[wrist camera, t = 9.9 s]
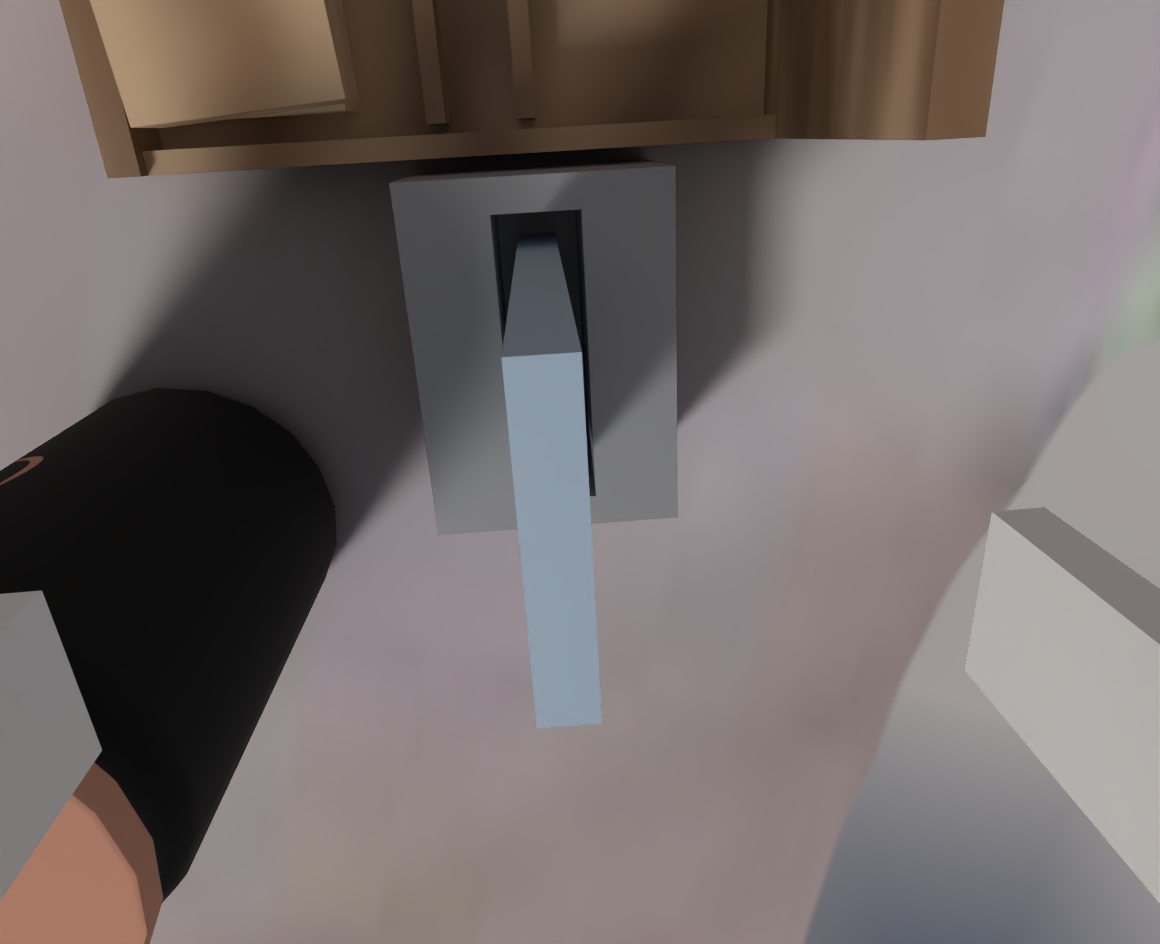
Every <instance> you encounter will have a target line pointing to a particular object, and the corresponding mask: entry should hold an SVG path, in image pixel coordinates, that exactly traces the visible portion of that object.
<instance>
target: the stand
mask: <svg viewBox="0 0 1160 944" xmlns="http://www.w3.org/2000/svg"><path fill="white" fill-rule="evenodd" d="M389 187H390V194H391V201H392V208H393V215H394V222H395V230H396V237H397V244H398V251H399V258H400V265H401V272H402V279H403V286H404V293H405V301H406V308H407V315H408V322H409V329H410V336H411V343H412V350H413V357H414V365H415V372H416V379H417V386H418V393H419V400H420V407H421V414H422V421H423V429H424V436H425V443H426V450H427V457H428V464H429V471H430V478H431V485H432V492H433V500H434V507H435V514H436V521H437V528H438V535H442V534H456V533H469V532H483V531H497V530H510V529H518V526H517V515H516V505H515V495H514V484H513V474H512V463H511V453H510V442H509V432H508V421H507V411H506V400H505V390H504V379H503V369H502V358H501V357H502V350H503V342H504V335H505V328H506V321H507V314H508V307H509V300H510V293H511V285H512V278H513V271H514V264H515V257H516V250H517V243H518V236H519V234H524V233H540V232H555V236H556V240H557V245H558V249H559V254H560V258H561V262H562V267H563V271H564V276H565V280H566V284H567V289H568V293H569V298H570V302H571V306H572V311H573V315H574V320H575V324H576V328H577V333H578V337H579V342H580V346H581V350H582V364H583V382H584V401H585V420H586V438H587V457H588V475H589V494H590V512H591V524H592V523H606V522H619V521H633V520H647V519H660V518H674V517H678V498H677V312H676V166H673V165H668V164H664V163H659V162H655V161H650V160H637V161H621V162H604V163H587V164H570V165H554V166H537V167H520V168H503V169H487V170H470V171H453V172H436V173H420V174H415V175H412V176H409V177H406V178H403V179H400V180H397V181H394V182H391V183H389Z"/></svg>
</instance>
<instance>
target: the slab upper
mask: <svg viewBox="0 0 1160 944" xmlns="http://www.w3.org/2000/svg"><path fill="white" fill-rule="evenodd" d="M90 3H91V6H92V9H93V12H94V15H95V18H96V21H97V24H98V28H99V31H100V34H101V37H102V40H103V43H104V46H105V49H106V52H107V55H108V59H109V62H110V65H111V68H112V71H113V74H114V77H115V80H116V83H117V87H118V90H119V93H120V96H121V99H122V102H123V105H124V108H125V111H126V114H127V118H128V121H129V124H130V127H131V128H167V127H174V126H182V125H189V124H197V123H204V122H211V121H219V120H226V119H234V118H241V117H248V116H256V115H263V114H271V113H278V112H285V111H293V110H300V109H308V108H315V107H322V106H330V105H337V104H345V103H352V102H359V101H360V100H359V95H358V90H357V86H356V81H355V76H354V72H353V67H352V62H351V58H350V53H349V48H348V44H347V39H346V34H345V29H344V25H343V20H342V15H341V11H340V6H339V1H338V0H90Z"/></svg>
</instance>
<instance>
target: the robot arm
mask: <svg viewBox="0 0 1160 944" xmlns="http://www.w3.org/2000/svg"><path fill="white" fill-rule="evenodd" d="M965 671H966V672H967V674H968V675H969V676H970V677H971V678H972V679H973V681H974V682H975V683H976V684H977V685H978V687H979V688H980V689H981V690H982V691H983V693H984V694H985V695H986V696H987V698H988V699H989V700H990V701H991V702H992V703H993V705H994V706H995V707H996V708H997V709H998V711H999V712H1000V713H1001V714H1002V715H1003V717H1004V718H1005V719H1006V720H1007V721H1008V723H1009V724H1010V725H1011V726H1012V727H1013V729H1014V730H1015V731H1016V732H1017V733H1018V735H1019V736H1020V737H1021V738H1022V739H1023V740H1024V742H1025V743H1026V744H1027V745H1028V746H1029V748H1030V749H1031V750H1032V751H1033V752H1034V754H1035V755H1036V756H1037V757H1038V758H1039V760H1040V761H1041V762H1042V763H1043V764H1044V766H1045V767H1046V768H1047V769H1048V770H1049V772H1050V773H1051V774H1052V775H1053V776H1054V778H1055V779H1056V780H1057V781H1058V782H1059V783H1060V785H1061V786H1062V787H1063V788H1064V789H1065V791H1066V792H1067V793H1068V794H1069V795H1070V797H1071V798H1072V799H1073V800H1074V801H1075V803H1076V804H1077V805H1078V806H1079V807H1080V809H1081V810H1082V811H1083V812H1084V813H1085V815H1086V816H1087V817H1088V818H1089V819H1090V820H1091V822H1092V823H1093V824H1094V825H1095V826H1096V828H1097V829H1098V830H1099V831H1100V832H1101V834H1102V835H1103V836H1104V837H1105V838H1106V840H1107V841H1108V842H1109V843H1110V844H1111V846H1112V847H1113V848H1114V849H1115V850H1116V851H1117V853H1118V854H1119V855H1120V856H1121V857H1122V859H1123V860H1124V861H1125V862H1126V864H1127V865H1128V866H1129V867H1130V868H1131V869H1132V871H1133V872H1134V873H1135V874H1136V875H1137V877H1138V878H1139V879H1140V880H1141V881H1142V883H1143V884H1144V885H1145V886H1146V887H1147V889H1148V890H1149V891H1150V892H1151V893H1152V895H1153V896H1154V897H1155V898H1156V899H1157V901H1158V902H1159V903H1160V589H1159V588H1158V587H1156V586H1155V585H1153V584H1152V583H1151V582H1149V581H1148V580H1146V579H1145V578H1144V577H1142V576H1141V575H1139V574H1138V573H1136V572H1135V571H1134V570H1132V569H1131V568H1129V567H1128V566H1127V565H1125V564H1124V563H1122V562H1121V561H1119V560H1118V559H1117V558H1115V557H1114V556H1112V555H1111V554H1110V553H1108V552H1107V551H1105V550H1104V549H1102V548H1101V547H1100V546H1098V545H1097V544H1095V543H1094V542H1092V541H1091V540H1090V539H1088V538H1086V537H1085V536H1084V535H1082V534H1081V533H1080V532H1078V531H1077V530H1075V529H1074V528H1073V527H1071V526H1070V525H1068V524H1067V523H1066V522H1064V521H1063V520H1061V519H1060V518H1059V517H1057V516H1056V515H1054V514H1053V513H1051V512H1050V511H1049V510H1047V509H1046V508H1044V507H1043V508H1031V509H1020V510H1007V511H995V512H992V514H991V520H990V526H989V532H988V538H987V544H986V550H985V556H984V562H983V567H982V573H981V579H980V585H979V591H978V597H977V603H976V609H975V614H974V620H973V626H972V632H971V638H970V644H969V649H968V655H967V661H966V667H965ZM101 751H102V748H101V746H100V743H99V740H98V738H97V735H96V732H95V730H94V727H93V724H92V722H91V719H90V716H89V714H88V711H87V709H86V706H85V703H84V701H83V698H82V695H81V693H80V690H79V687H78V685H77V682H76V679H75V677H74V674H73V671H72V669H71V666H70V664H69V661H68V658H67V656H66V653H65V650H64V648H63V645H62V642H61V640H60V637H59V634H58V632H57V629H56V626H55V624H54V621H53V618H52V616H51V613H50V611H49V608H48V605H47V603H46V600H45V597H44V595H43V592H42V591H30V592H18V593H6V594H0V901H1V899H2V898H3V896H4V895H5V894H6V892H7V891H8V889H9V888H10V886H11V885H12V883H13V882H14V880H15V879H16V877H17V876H18V874H19V873H20V871H21V870H22V868H23V867H24V865H25V864H26V862H27V861H28V859H29V858H30V856H31V855H32V854H33V852H34V851H35V849H36V848H37V846H38V845H39V843H40V842H41V840H42V839H43V837H44V836H45V834H46V833H47V831H48V830H49V828H50V827H51V825H52V824H53V822H54V821H55V819H56V818H57V816H58V815H59V813H60V812H61V811H62V809H63V808H64V806H65V805H66V803H67V802H68V800H69V799H70V797H71V796H72V794H73V793H74V791H75V790H76V788H77V787H78V785H79V784H80V782H81V781H82V779H83V778H84V776H85V775H86V773H87V772H88V770H89V769H90V768H91V766H92V765H93V763H94V762H95V760H96V759H97V757H98V756H99V754H100V753H101Z"/></svg>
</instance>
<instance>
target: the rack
mask: <svg viewBox="0 0 1160 944" xmlns="http://www.w3.org/2000/svg"><path fill="white" fill-rule="evenodd" d="M59 1H60V5H61V8H62V12H63V16H64V19H65V23H66V27H67V30H68V34H69V38H70V41H71V45H72V49H73V52H74V56H75V60H76V63H77V67H78V71H79V74H80V78H81V82H82V85H83V89H84V93H85V96H86V100H87V104H88V107H89V111H90V115H91V118H92V122H93V126H94V129H95V133H96V137H97V140H98V144H99V148H100V151H101V155H102V159H103V162H104V166H105V170H106V173H107V177H108V178H119V177H136V176H148V175H164V174H181V173H198V172H215V171H232V170H249V169H266V168H283V167H299V166H316V165H333V164H350V163H367V162H384V161H401V160H418V159H435V158H451V157H468V156H485V155H502V154H519V153H536V152H553V151H570V150H587V149H603V148H620V147H637V146H654V145H671V144H688V143H705V142H722V141H739V140H755V139H772V138H790V139H868V140H938V139H955V138H972V137H985V135H986V128H987V121H988V114H989V106H990V99H991V92H992V85H993V77H994V70H995V63H996V55H997V48H998V41H999V34H1000V26H1001V19H1002V12H1003V5H1004V0H342V1H343V7H344V14H345V21H346V28H347V34H348V41H349V48H350V54H351V61H352V67H353V72H354V76H355V81H356V86H357V90H358V95H359V100H360V101H359V102H358V108H359V112H352V113H334V114H317V115H299V116H282V117H264V118H247V119H230V120H219V121H211V122H204V123H197V124H189V125H182V126H174V127H167V128H131V127H130V124H129V121H128V118H127V114H126V111H125V108H124V105H123V102H122V99H121V96H120V93H119V90H118V87H117V83H116V80H115V77H114V74H113V71H112V68H111V65H110V62H109V59H108V55H107V52H106V49H105V46H104V43H103V40H102V37H101V34H100V31H99V28H98V24H97V21H96V18H95V15H94V12H93V9H92V6H91V3H90V0H59Z"/></svg>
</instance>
